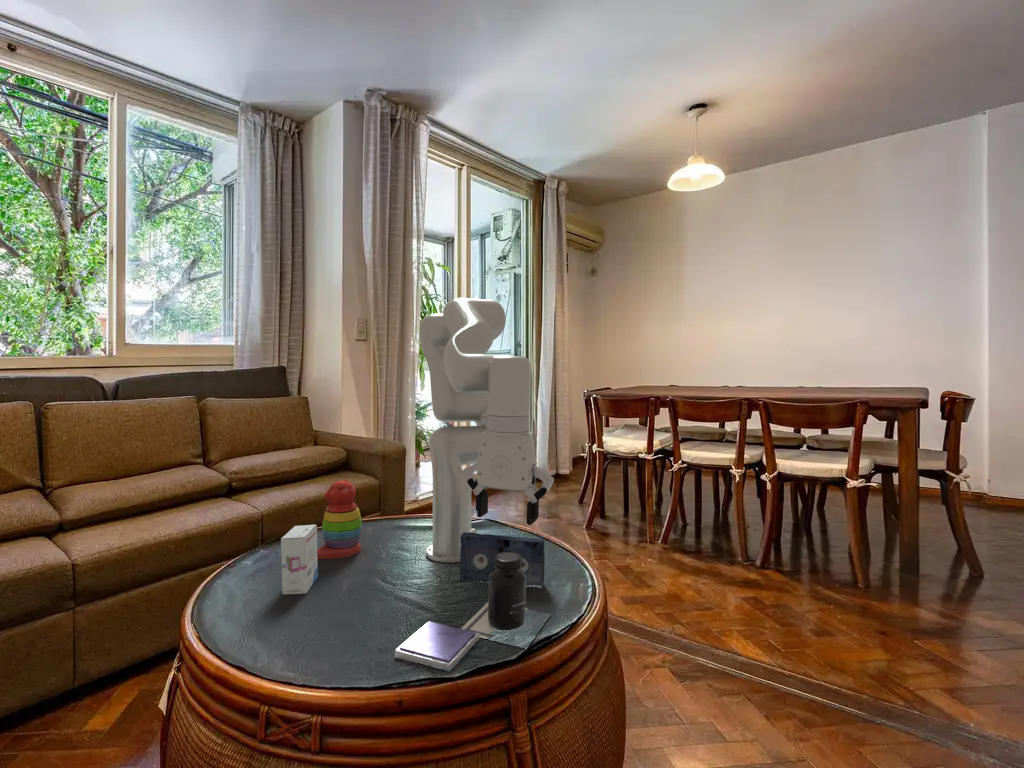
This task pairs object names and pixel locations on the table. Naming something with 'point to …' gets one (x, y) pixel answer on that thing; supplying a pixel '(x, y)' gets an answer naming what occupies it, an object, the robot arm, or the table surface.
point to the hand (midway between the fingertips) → (506, 518)
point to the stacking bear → (340, 522)
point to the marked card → (480, 623)
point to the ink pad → (437, 645)
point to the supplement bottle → (507, 592)
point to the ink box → (299, 559)
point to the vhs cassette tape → (485, 547)
